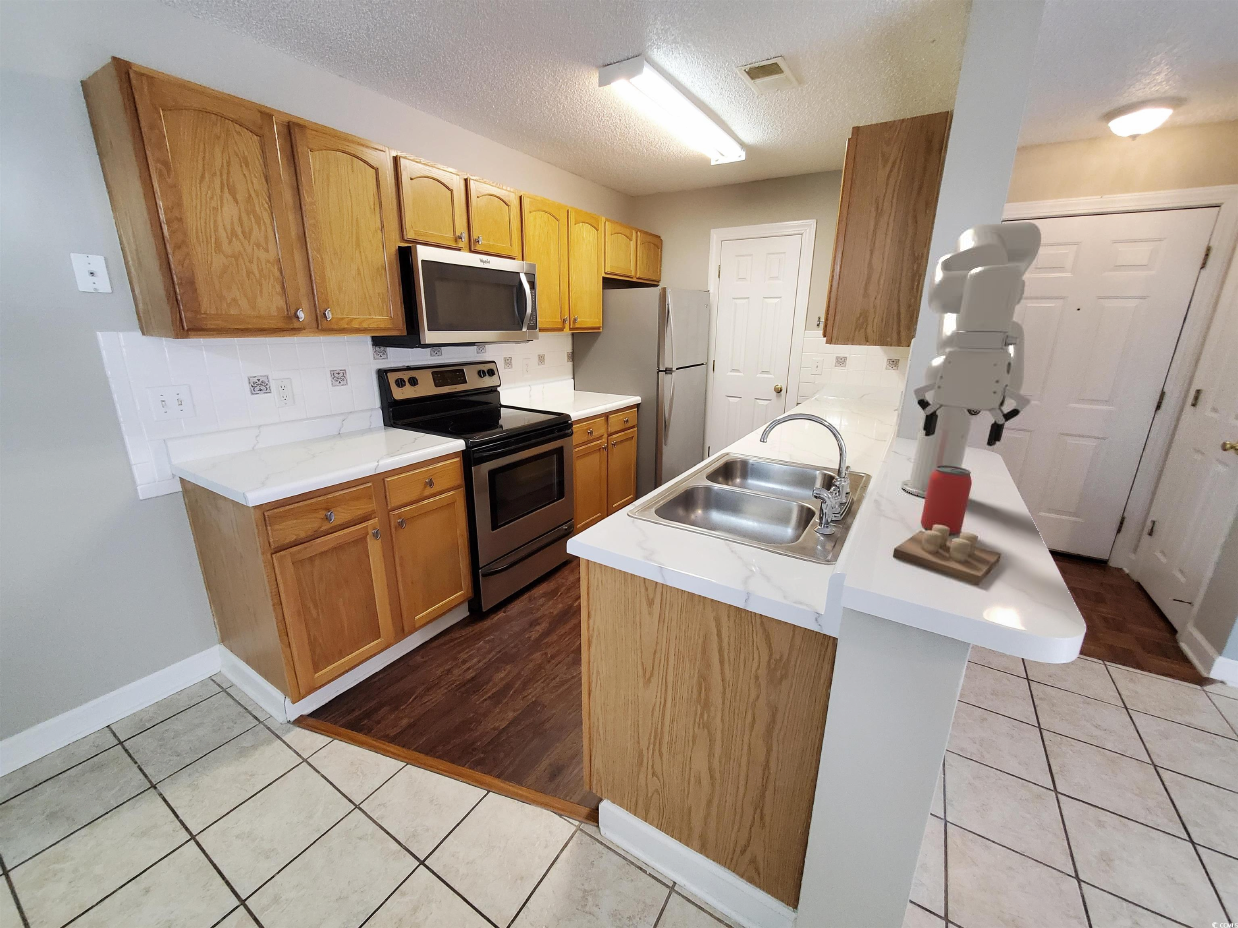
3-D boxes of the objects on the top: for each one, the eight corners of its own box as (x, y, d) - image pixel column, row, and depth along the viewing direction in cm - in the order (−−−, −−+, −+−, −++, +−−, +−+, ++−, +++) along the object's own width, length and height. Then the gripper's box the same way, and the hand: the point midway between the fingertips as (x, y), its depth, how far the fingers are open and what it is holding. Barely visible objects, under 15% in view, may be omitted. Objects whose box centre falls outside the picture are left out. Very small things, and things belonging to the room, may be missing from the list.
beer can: (961, 539, 89) (975, 476, 86) (919, 530, 92) (931, 470, 89) (959, 527, 94) (973, 468, 91) (920, 520, 97) (931, 462, 94)
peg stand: (918, 538, 89) (923, 515, 88) (999, 561, 80) (1005, 536, 79) (892, 556, 81) (897, 531, 80) (978, 585, 72) (984, 557, 71)
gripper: (1049, 345, 80) (1023, 446, 84) (931, 341, 92) (914, 430, 97) (1039, 344, 75) (1013, 452, 80) (916, 341, 88) (899, 434, 92)
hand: (959, 440), depth 88 cm, fingers open, 9 cm apart
